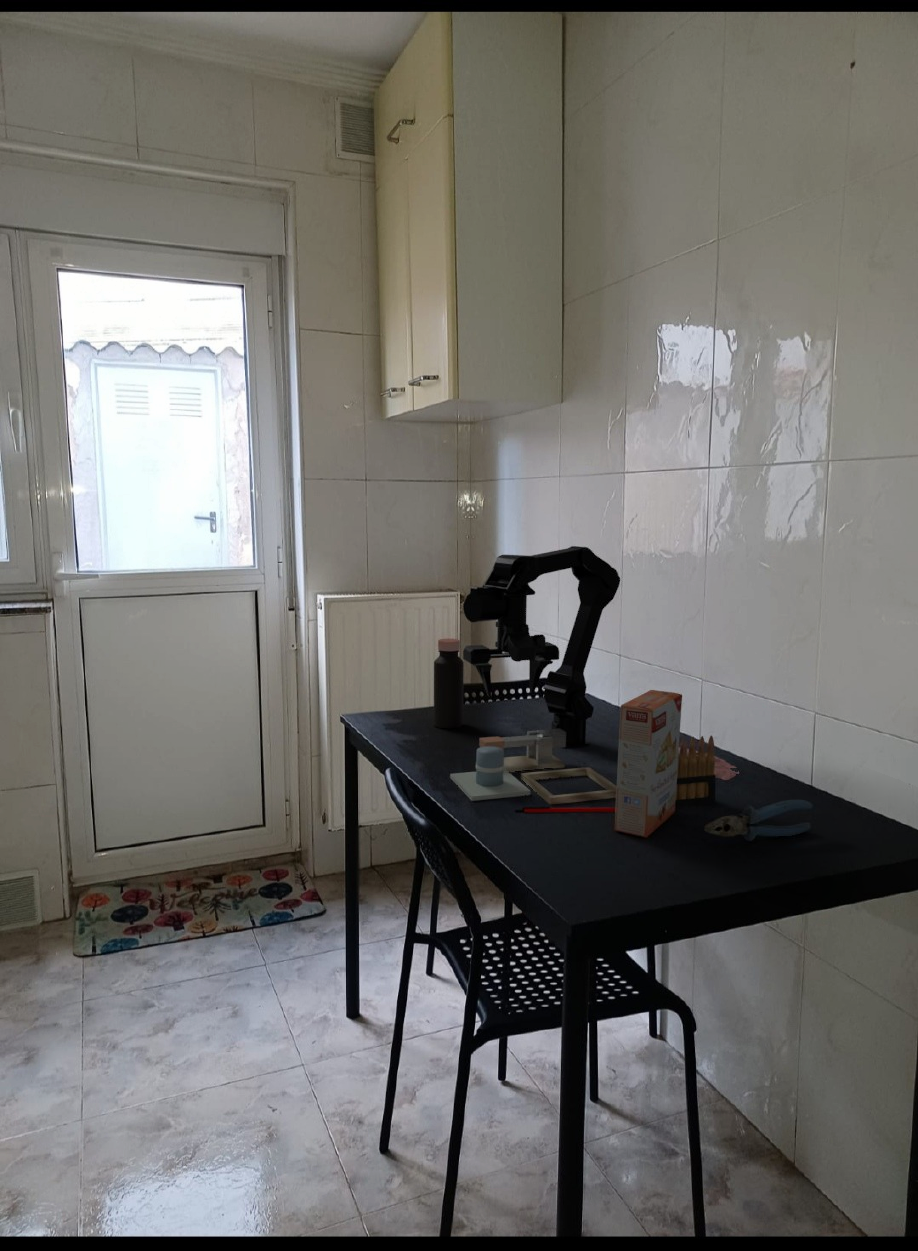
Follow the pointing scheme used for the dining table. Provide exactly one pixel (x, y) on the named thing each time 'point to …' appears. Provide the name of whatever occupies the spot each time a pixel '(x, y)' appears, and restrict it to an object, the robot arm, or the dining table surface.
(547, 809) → the pen
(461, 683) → the bottle
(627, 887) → the dining table surface
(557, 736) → the cutter handle
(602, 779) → the open square beige frame
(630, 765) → the cracker box
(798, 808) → the pliers
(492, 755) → the grey round canister
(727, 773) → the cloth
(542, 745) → the base
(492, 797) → the pad
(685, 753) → the ammunition clip
